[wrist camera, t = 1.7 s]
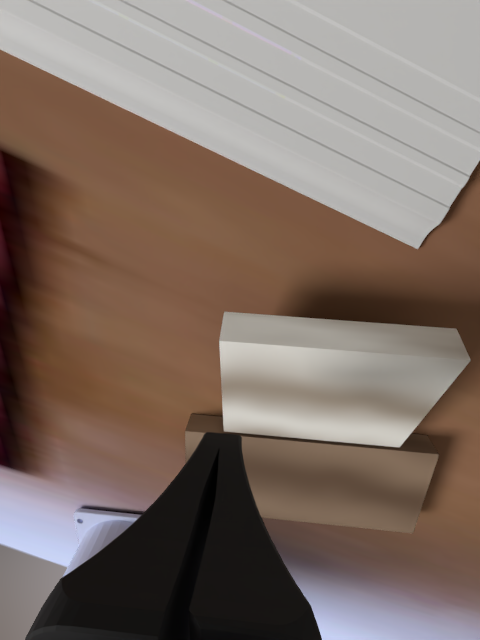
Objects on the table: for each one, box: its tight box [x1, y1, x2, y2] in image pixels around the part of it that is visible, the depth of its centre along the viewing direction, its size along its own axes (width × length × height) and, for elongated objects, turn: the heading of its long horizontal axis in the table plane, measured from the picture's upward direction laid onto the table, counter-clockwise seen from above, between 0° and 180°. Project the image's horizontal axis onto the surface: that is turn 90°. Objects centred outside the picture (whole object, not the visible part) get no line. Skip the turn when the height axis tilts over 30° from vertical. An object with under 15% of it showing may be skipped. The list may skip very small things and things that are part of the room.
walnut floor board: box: [185, 414, 439, 533], centre depth 24 cm, size 7×16×2 cm, turn 87°
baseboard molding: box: [0, 0, 480, 249], centre depth 15 cm, size 31×3×12 cm
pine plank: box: [219, 312, 471, 447], centre depth 19 cm, size 9×11×2 cm
